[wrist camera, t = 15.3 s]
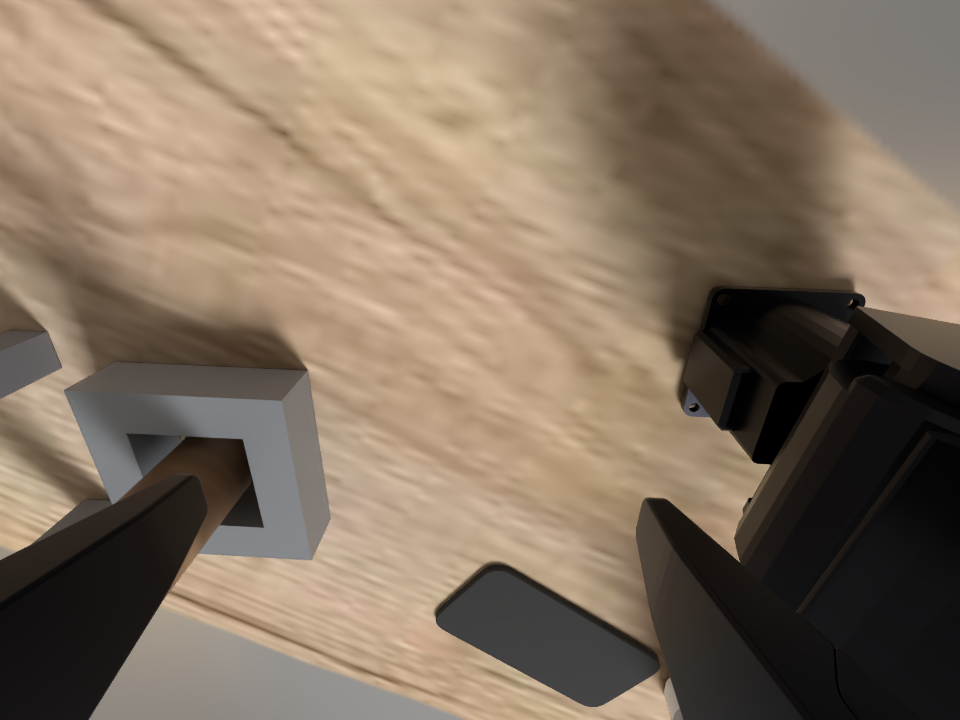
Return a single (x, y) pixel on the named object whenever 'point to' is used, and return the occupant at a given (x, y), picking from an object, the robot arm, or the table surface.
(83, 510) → the teal topped stool
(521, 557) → the table surface
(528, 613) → the phone
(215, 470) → the peg
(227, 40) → the table surface
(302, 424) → the socket
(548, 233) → the table surface
